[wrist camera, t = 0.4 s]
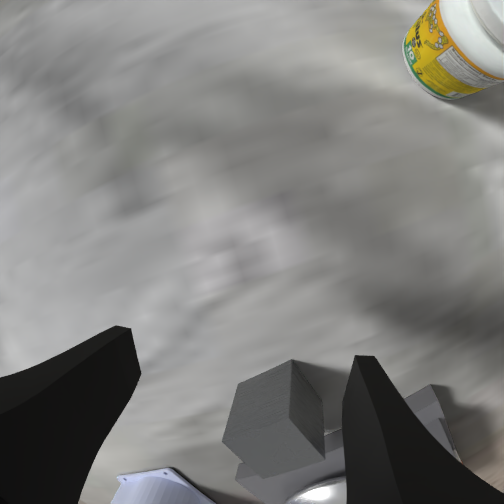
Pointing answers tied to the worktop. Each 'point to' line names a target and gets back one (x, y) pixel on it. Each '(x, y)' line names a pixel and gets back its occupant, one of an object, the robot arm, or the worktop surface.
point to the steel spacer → (276, 422)
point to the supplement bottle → (457, 47)
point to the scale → (342, 455)
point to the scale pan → (321, 493)
